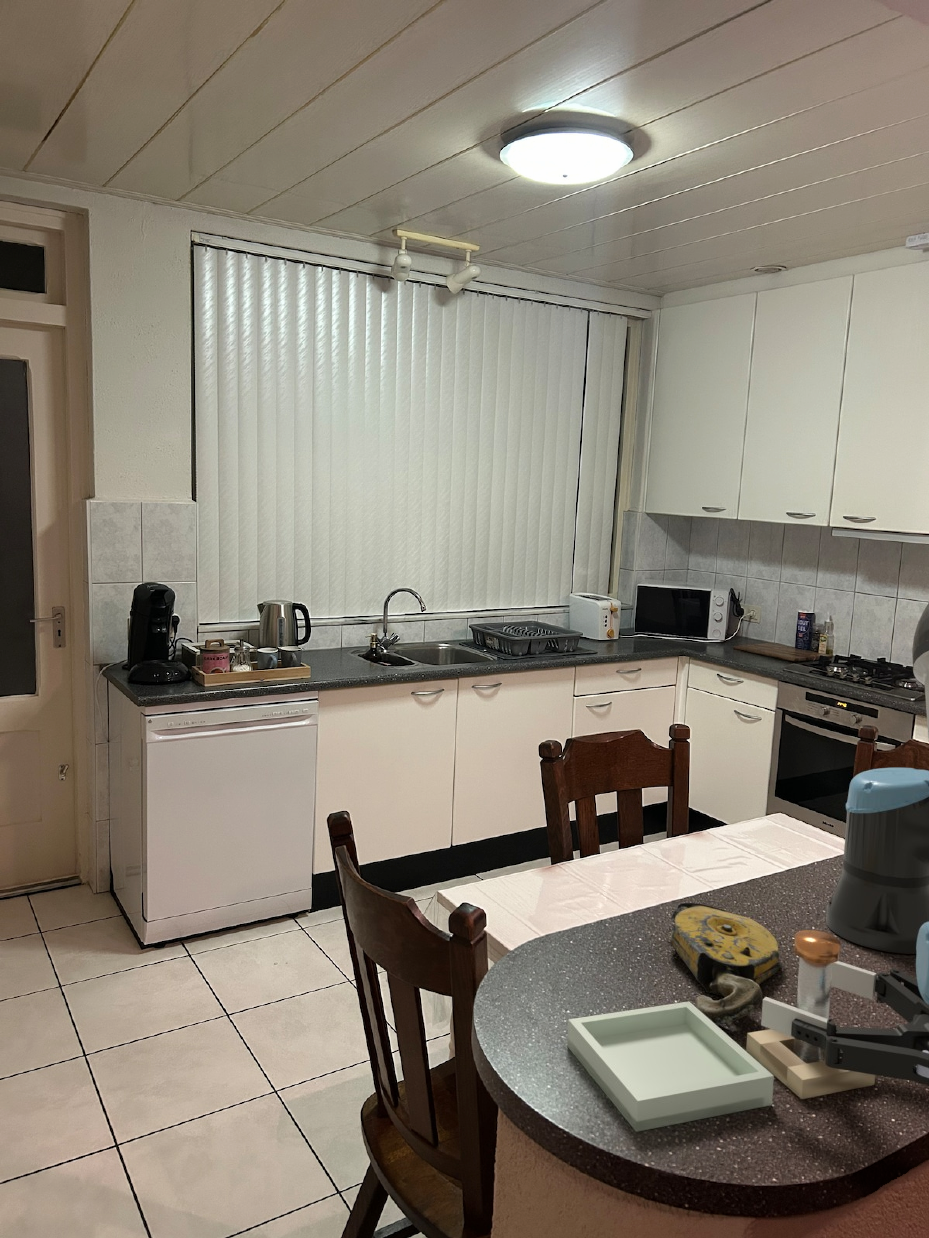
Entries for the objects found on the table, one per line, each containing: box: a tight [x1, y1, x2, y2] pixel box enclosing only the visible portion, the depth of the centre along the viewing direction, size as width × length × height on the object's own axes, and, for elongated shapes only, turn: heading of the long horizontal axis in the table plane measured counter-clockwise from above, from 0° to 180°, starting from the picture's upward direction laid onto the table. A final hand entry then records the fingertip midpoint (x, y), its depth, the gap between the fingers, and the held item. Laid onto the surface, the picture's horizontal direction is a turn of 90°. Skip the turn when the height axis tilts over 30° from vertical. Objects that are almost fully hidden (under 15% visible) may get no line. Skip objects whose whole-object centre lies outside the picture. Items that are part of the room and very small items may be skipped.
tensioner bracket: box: [745, 1028, 876, 1100], centre depth 97 cm, size 9×9×2 cm
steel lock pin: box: [793, 929, 841, 1064], centre depth 97 cm, size 4×4×14 cm
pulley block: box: [666, 902, 780, 1028], centre depth 117 cm, size 14×6×30 cm
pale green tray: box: [566, 1001, 775, 1133], centre depth 95 cm, size 15×15×3 cm
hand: (789, 987), depth 98 cm, fingers open, 13 cm apart
